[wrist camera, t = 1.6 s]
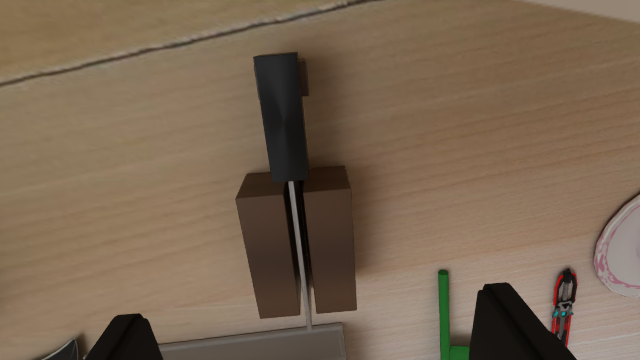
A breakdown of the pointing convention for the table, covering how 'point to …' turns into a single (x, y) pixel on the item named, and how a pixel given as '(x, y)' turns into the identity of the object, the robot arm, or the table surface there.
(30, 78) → the table surface
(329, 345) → the book
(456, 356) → the decorative flower
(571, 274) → the pen
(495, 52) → the table surface
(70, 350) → the knife
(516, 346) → the robot arm
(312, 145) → the table surface
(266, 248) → the brown twin bars
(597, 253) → the teacup
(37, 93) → the table surface
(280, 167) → the cake knife
